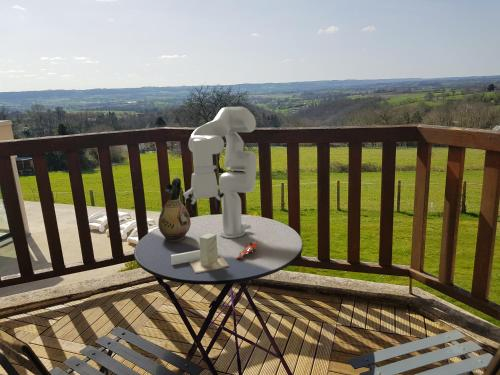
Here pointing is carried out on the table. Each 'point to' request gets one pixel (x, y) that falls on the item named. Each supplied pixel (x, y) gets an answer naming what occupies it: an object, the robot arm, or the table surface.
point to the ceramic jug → (174, 215)
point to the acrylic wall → (186, 257)
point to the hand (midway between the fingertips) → (206, 210)
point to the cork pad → (201, 268)
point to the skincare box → (208, 249)
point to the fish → (248, 249)
